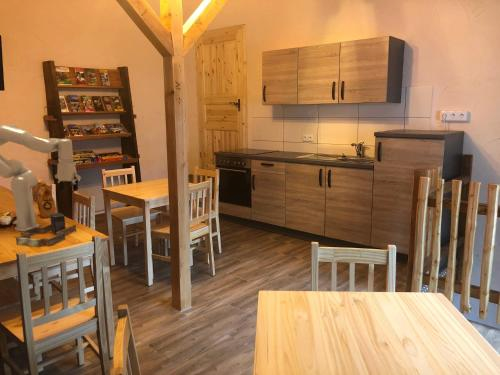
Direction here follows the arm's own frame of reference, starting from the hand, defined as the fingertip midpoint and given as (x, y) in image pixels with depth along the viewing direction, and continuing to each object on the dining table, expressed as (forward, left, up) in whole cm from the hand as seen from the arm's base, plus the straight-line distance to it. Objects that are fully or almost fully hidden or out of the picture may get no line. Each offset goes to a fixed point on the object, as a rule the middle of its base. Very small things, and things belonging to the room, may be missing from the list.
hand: (68, 190), depth 242 cm
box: (0, -11, -23) cm, 25 cm away
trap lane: (0, -19, -22) cm, 29 cm away
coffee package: (-32, +16, -22) cm, 43 cm away
